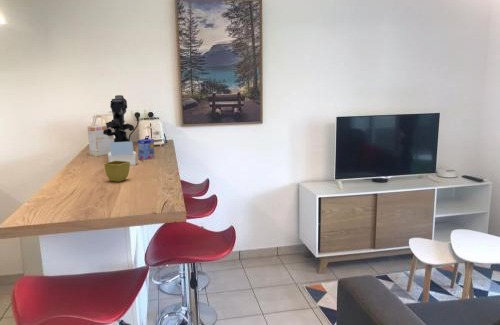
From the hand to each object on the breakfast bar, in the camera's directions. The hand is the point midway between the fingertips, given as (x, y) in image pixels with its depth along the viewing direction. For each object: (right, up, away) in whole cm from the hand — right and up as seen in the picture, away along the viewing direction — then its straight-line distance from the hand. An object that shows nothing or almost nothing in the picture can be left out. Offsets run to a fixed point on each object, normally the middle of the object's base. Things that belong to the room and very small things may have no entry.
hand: (119, 143), depth 242 cm
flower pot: (+14, -20, -44) cm, 50 cm away
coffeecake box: (-20, -6, +30) cm, 37 cm away
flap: (+5, -6, -10) cm, 13 cm away
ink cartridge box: (+13, -9, +14) cm, 21 cm away
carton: (+3, -12, -3) cm, 13 cm away
